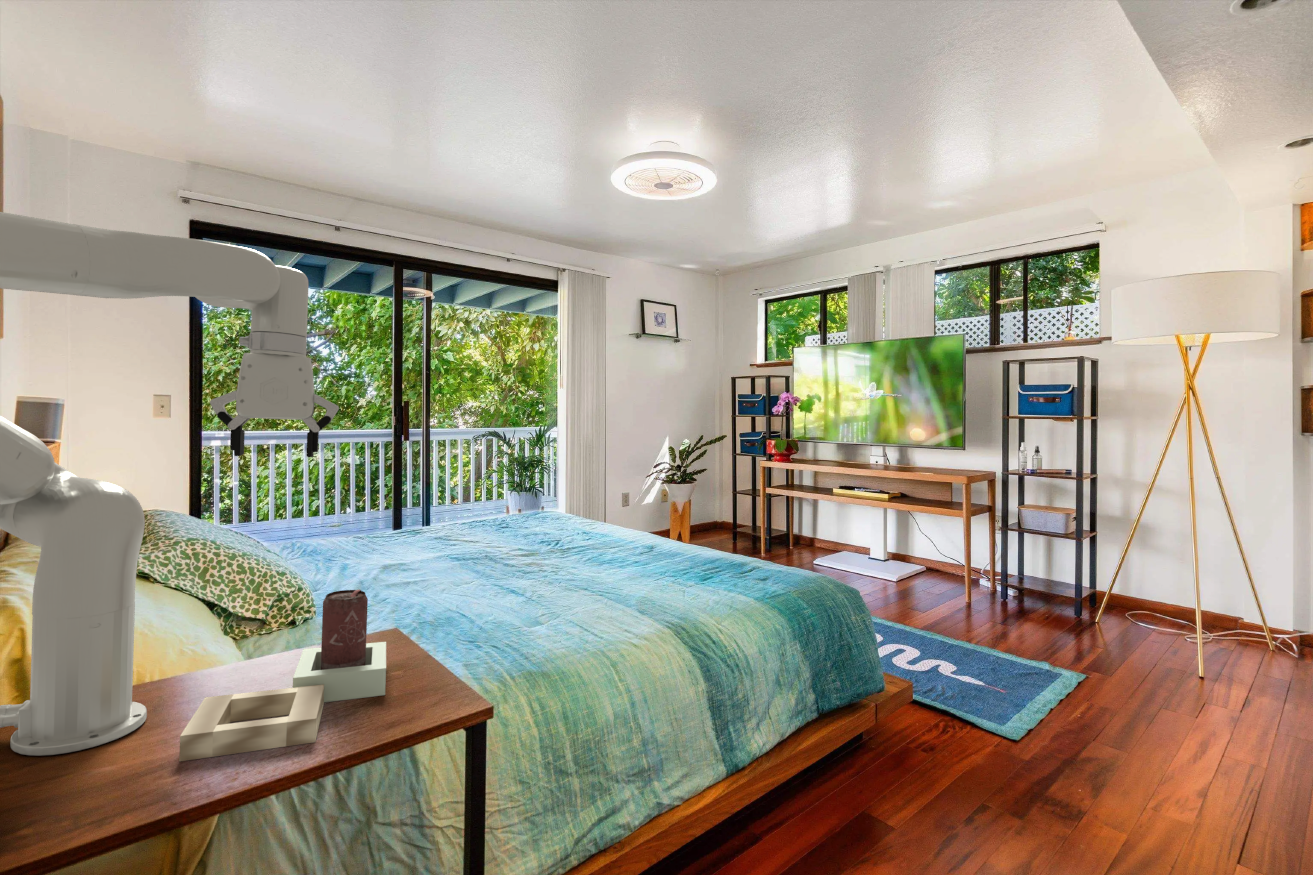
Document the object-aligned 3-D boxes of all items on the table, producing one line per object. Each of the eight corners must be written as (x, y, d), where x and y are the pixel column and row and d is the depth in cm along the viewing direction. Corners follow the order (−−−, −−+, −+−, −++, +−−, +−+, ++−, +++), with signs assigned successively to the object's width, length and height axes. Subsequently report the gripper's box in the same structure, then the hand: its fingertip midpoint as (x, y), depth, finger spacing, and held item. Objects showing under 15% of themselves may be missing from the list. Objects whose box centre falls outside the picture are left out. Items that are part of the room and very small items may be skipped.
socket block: (179, 761, 73) (180, 735, 73) (204, 719, 83) (205, 697, 83) (315, 742, 78) (316, 718, 78) (323, 705, 88) (324, 684, 88)
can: (373, 677, 98) (376, 589, 98) (349, 694, 92) (353, 600, 92) (337, 674, 99) (340, 586, 99) (311, 691, 93) (314, 597, 93)
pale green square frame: (292, 706, 88) (293, 677, 88) (302, 674, 99) (303, 648, 99) (385, 694, 93) (386, 668, 93) (385, 665, 104) (386, 641, 104)
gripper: (206, 339, 91) (202, 456, 91) (338, 349, 98) (335, 458, 98) (218, 344, 98) (215, 453, 98) (342, 354, 105) (338, 456, 105)
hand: (275, 456), depth 98 cm, fingers open, 9 cm apart
